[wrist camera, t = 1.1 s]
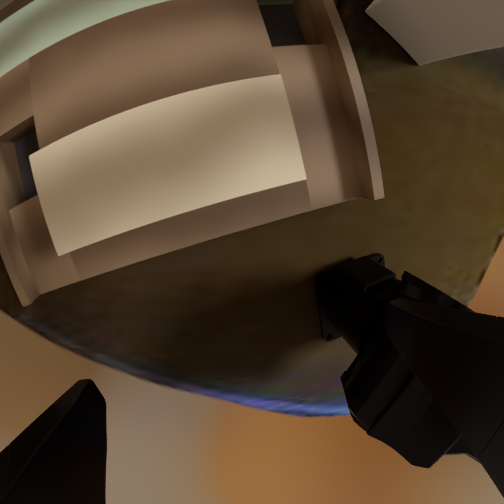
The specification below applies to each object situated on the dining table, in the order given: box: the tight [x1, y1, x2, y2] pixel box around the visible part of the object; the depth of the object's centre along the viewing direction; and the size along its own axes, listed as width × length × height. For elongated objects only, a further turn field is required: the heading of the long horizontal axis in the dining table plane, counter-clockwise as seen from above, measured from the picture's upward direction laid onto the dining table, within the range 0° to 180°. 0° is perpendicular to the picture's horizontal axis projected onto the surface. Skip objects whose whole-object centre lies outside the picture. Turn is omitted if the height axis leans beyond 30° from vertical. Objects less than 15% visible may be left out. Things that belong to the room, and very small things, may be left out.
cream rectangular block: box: [29, 74, 307, 256], centre depth 13 cm, size 5×12×4 cm, turn 104°
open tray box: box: [0, 0, 384, 307], centre depth 13 cm, size 22×24×4 cm
